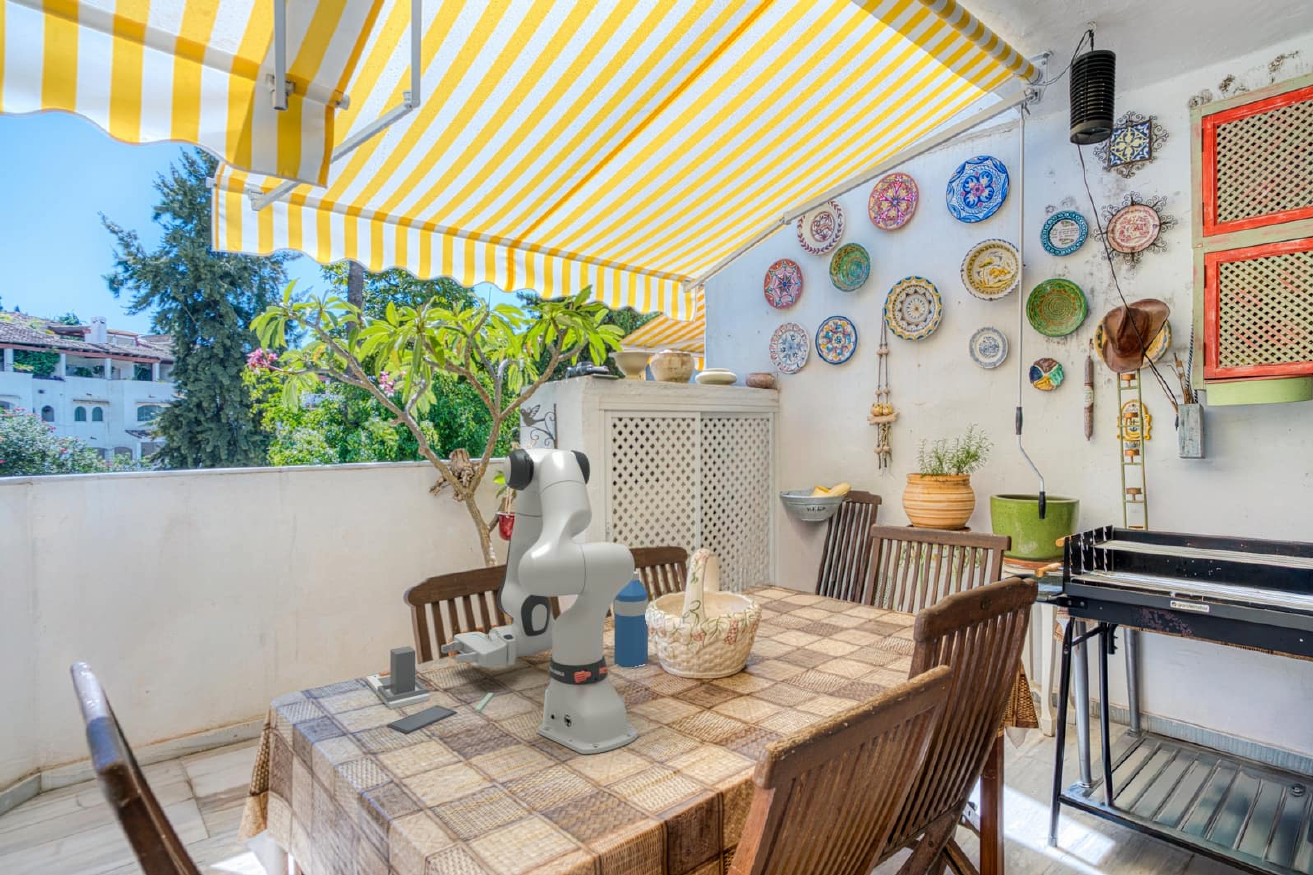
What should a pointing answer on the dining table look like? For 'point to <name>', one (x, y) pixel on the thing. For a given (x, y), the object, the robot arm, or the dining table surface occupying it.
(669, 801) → the dining table surface
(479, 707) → the pale green stick
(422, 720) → the phone
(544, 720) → the robot arm
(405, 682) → the grey rectangular block
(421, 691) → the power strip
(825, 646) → the dining table surface
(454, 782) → the dining table surface
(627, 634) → the water bottle
